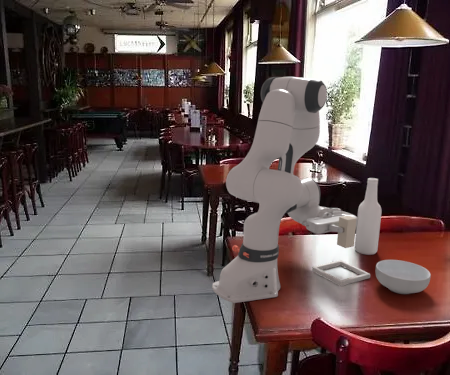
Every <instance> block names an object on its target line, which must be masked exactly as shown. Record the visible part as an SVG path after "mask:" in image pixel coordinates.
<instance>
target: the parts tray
mask: <svg viewBox="0 0 450 375" xmlns="http://www.w3.org/2000/svg"><path fill="white" fill-rule="evenodd" d="M339 266H341V267H343V268H345V269H348V270H349V271H351V272H354V273H356V274H358V275H356V276H355V275H354V276H352V277H349V278H344V279H339V278H337V277H335V276H334V275H332V274H330V273H328V272H326V271H324V270H328V269H331V268H335V267H339ZM311 271H312V272H313V273H315V274H317V275H319V276H321V277H323V278H325V279H327V280H329V281H330V282H332V283H334V284H335V285H337V286H340V287H344V286H346V285H350V284H353V283H354V284H355V283H358V282H361V281H363V280H368V279H370V278H371V273H370V272H367V271H365V270H364V269H361V268H360V267H357V266H354V265H353V264H350V263H348V262H346V261H344V260H341V259H339V260H335V261H332V262H328V263H327V262H326V263H323V264H319V265H315V266H312V268H311Z"/></svg>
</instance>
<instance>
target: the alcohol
mask: <svg viewBox="0 0 450 375" xmlns="http://www.w3.org/2000/svg"><path fill="white" fill-rule="evenodd" d="M366 183H367V185H366V190H365V195H364V200H363V201H362V202H360V204H359V206H358V209H357V218H358V224H357V227H356V230H355V239H354V251H355V252H357V253H359V254H361V255H367V256H371V255H372V256H373V255H375V254H376V253H377V252H378V248H379V238H380V230H381V221H382V220H381V219H382V218H381V217H382V211H383V210H382V207H381V205H380V203H379V202H378V186H379V178H375V177H369V178H367V181H366Z"/></svg>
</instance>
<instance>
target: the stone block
mask: <svg viewBox="0 0 450 375" xmlns="http://www.w3.org/2000/svg"><path fill="white" fill-rule="evenodd" d="M339 227H344V228H345V230H344V232H343V233H339V232H337V238H336V240H337V242H336V245H337V246H340V247H341V248H344V249H349V248H354V247H355V238H356V230H355V229H356V228H357V227H356V218H354V217H351V216H342V217H339Z"/></svg>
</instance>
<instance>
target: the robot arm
mask: <svg viewBox="0 0 450 375" xmlns="http://www.w3.org/2000/svg"><path fill="white" fill-rule="evenodd" d="M327 91H328V90H327V86H326V85H325V83H324V82H323V81H322V80H320V79H317V78H306V77H297V76H283V77H278V76H273V77H269V78H267V79H266V80H265V81H264V82H263V84H262V86H261V89H260V99H261V102H262V104H261V109H260V112H259V114H258V119H257V124H256V128H255V132H254V137H253V142H252V144H251V146H250V149H249V151H248V152H247V154H246V156H245V157H244V159H242V161H241V162H240V163H238V164H237V165H235V166H233V167H232V168H231V169H230V170H229V172H228V174H227V176H226V180H225V186H226V189H227V192H228V193H229V194H230V195H231V196H234V197H235V198H238V199H239V200H240V199H241V200H243V201H248V202H253V203H257V204H259V207H258V211H257V212H254V213H252V214H250V215H249V216H248V217H246V218H245V221H244V223H243V237H242V238H243V241H242V243H241V245H240V247H239V246H238V245H236V244H234V245H232V251H233V252H234V253H236V254H237V256H236V257H235V258H234V259H232V260H231V261H230V262H229V263H228V264H227V265H225V266H224V267H223V268H222V269H221V271H220V274H219V278H218V279H219V280H217V281H214V282H212V286H211V288H212V291H213V292H214V293H215V294H216V295H217V296H218V297H220V298H221V299H223V300H224V301H227V302H230V303H234V304H236V303H242V302H243V303H244V302H250V301H256V300H263V299H264V300H265V299H271V298H277V297H278V296H279V290H281V283H280V278H279V272H278V271H279V270H278V258H279V255H280V254H279V252H280V251H279V250H280V246H279V244H278V243H279V233H280V225H281V222H282V218H283V217H284V215H285V214H287V215H288V216H289V218H290V219H291V220H293V221H295V222H297V223H298V224H301V225H302V226H304V227H305V228H306V230H308V231H309V232H311V233H313V234H317V235H320V234H325V233H330V232H333V233H338V232H339V233H343V232H344V230H345V228H344V227H339V217H342V216H351V217H354V218H356V228H357V224H358V218H357V217H358V215H357V216H356V215H355V214H353V213H350V212H346V211H343V210H342V209H341V208H338V207H326V206H320V201H321V188H320V185H319V184H318V183H317V181H316V180H315V179H313V178H311V177H305V178H302V179H301V178H300V177H299V176H298V175H295V174H294V170H295V166H296V165H297V164H296V163H297V162H298V161H299V159H300V158H301V157H302V156H304V155H305V153H308V151H311V149H313V148H314V147H315V145H317V143H318V141H319V138H320V132H321V130H320V128H321V120H320V118H321V117H320V110H322V109H323V107H325V105H326V101H327V96H328V94H327V93H328V92H327ZM277 159H278V164H277V169H271V168H270V167H271V165H273V164H272V163H274V161H276V160H277ZM355 231H356V229H355Z"/></svg>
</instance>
